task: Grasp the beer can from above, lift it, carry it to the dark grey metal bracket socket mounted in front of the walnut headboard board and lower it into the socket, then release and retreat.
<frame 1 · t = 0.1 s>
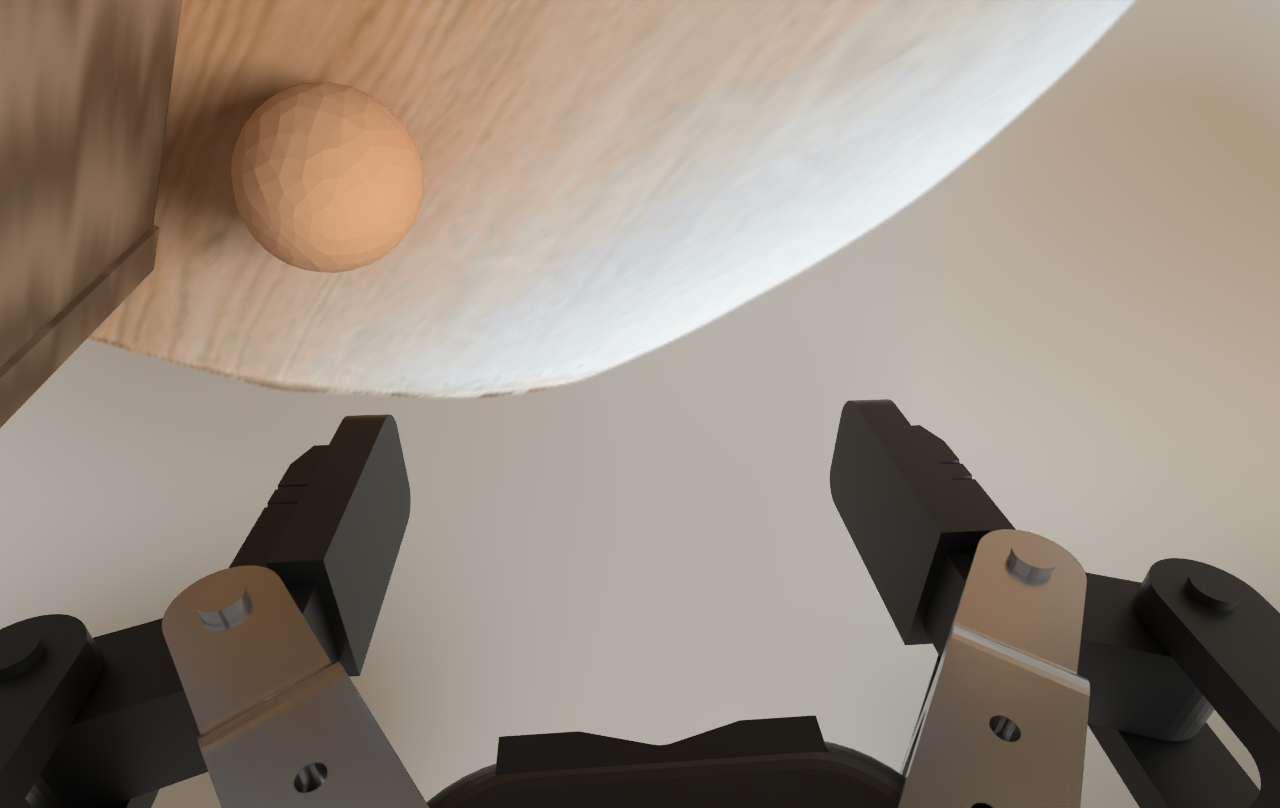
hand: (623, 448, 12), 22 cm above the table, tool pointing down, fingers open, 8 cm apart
egg: (360, 139, 30), on the table
headboard panel: (150, 71, 28), on the table
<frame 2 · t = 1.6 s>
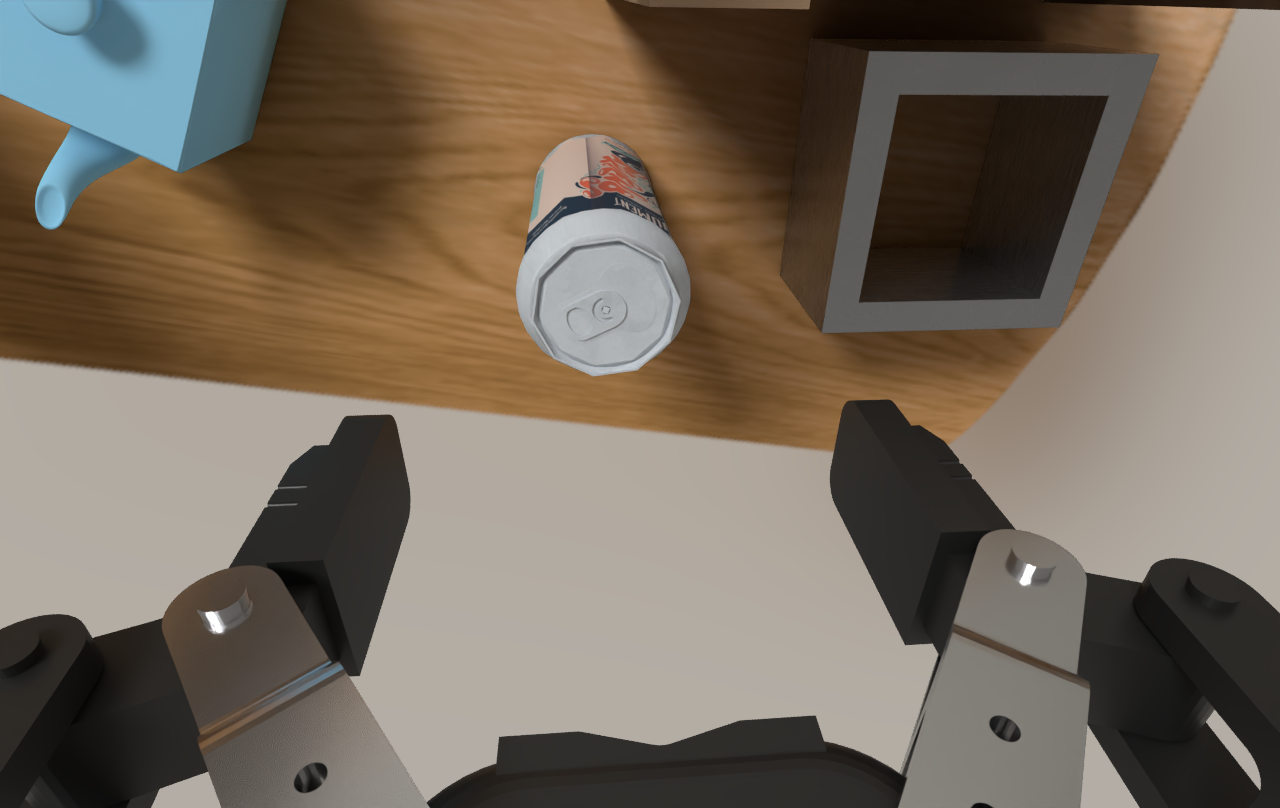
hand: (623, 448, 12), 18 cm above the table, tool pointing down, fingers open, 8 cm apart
post bracket: (903, 166, 29), on the table
beer can: (593, 191, 28), on the table
teapot: (191, 21, 24), on the table
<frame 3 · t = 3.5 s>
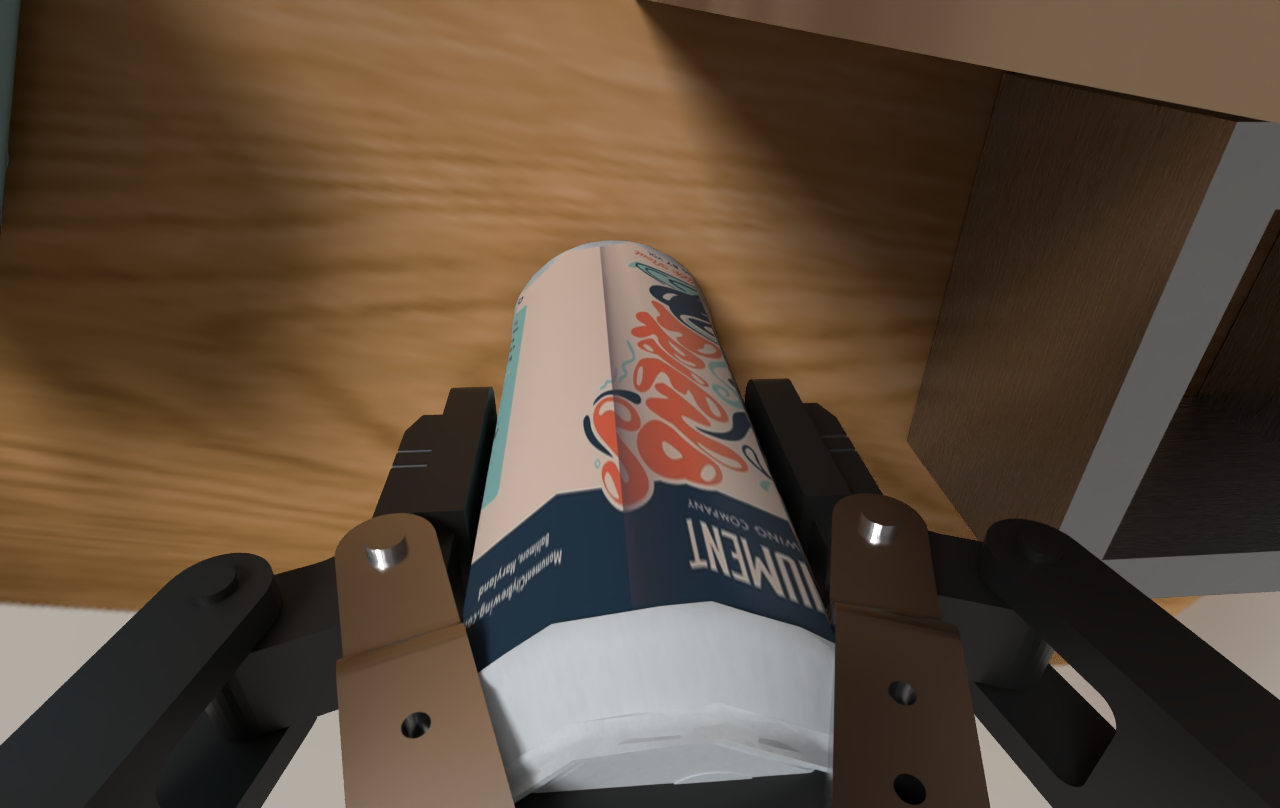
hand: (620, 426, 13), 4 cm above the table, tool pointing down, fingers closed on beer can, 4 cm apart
post bracket: (1127, 281, 17), on the table
beer can: (611, 325, 17), on the table, touching gripper
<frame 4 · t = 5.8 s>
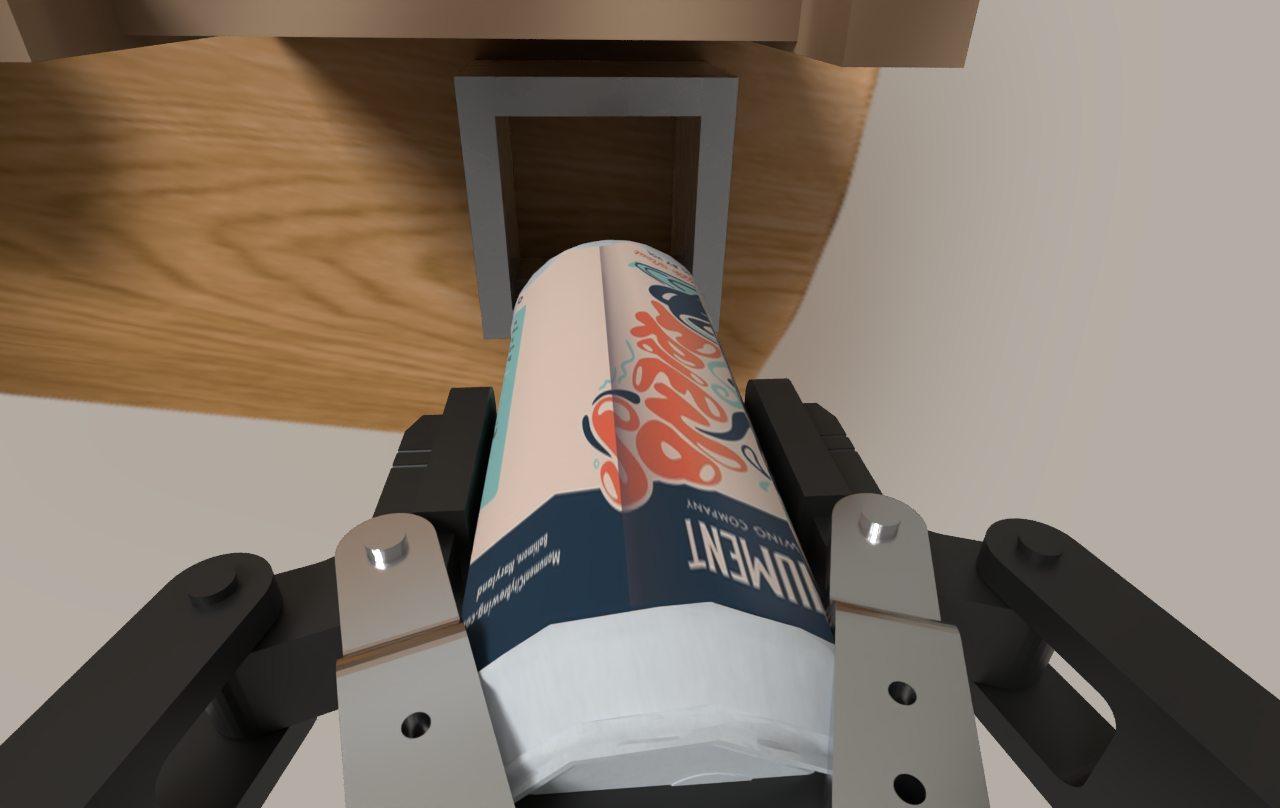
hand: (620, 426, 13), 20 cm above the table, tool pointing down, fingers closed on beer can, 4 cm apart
post bracket: (594, 179, 30), on the table
beer can: (611, 324, 17), point 15 cm above the table, touching gripper
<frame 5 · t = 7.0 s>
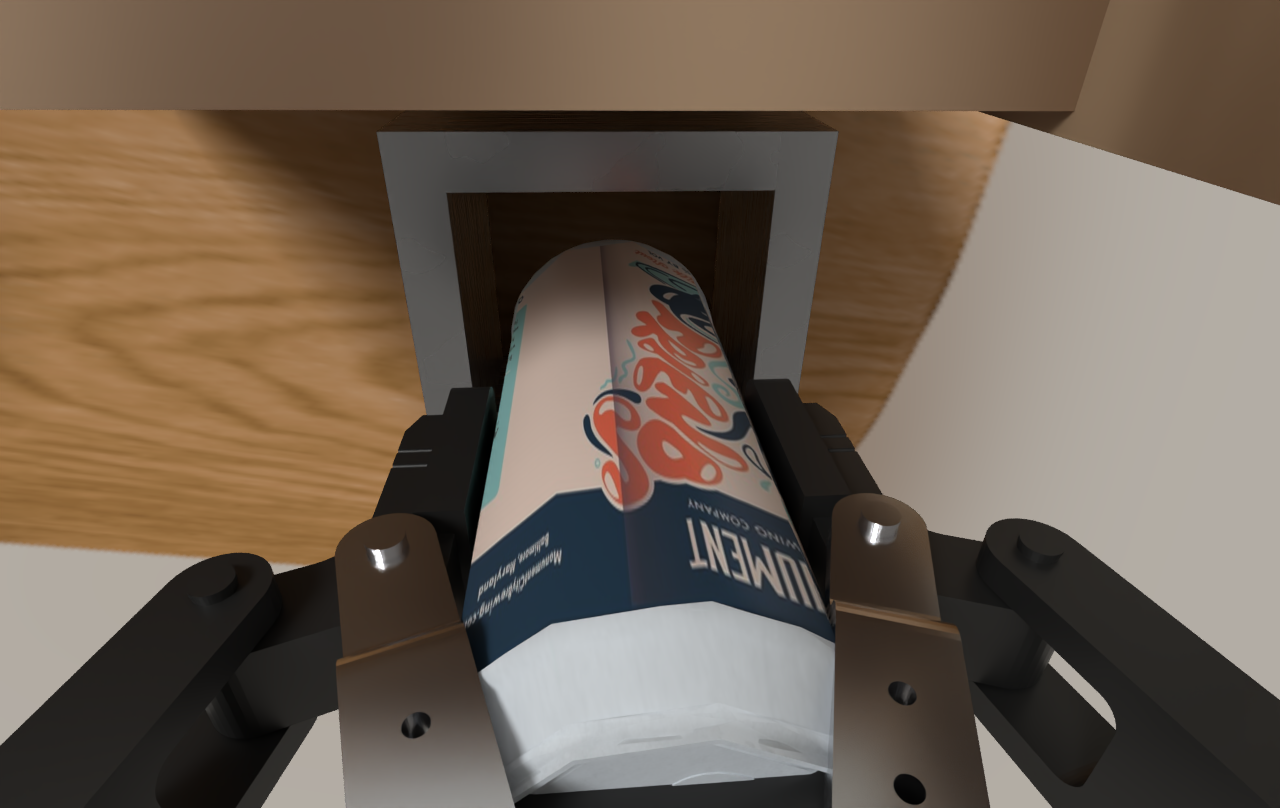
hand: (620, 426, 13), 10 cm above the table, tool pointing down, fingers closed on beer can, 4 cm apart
post bracket: (605, 255, 21), on the table
beer can: (611, 324, 17), point 5 cm above the table, touching gripper
when the fingers open (6 cm above the table, at t = 8.1 s): beer can drops 2 cm, resting in post bracket.
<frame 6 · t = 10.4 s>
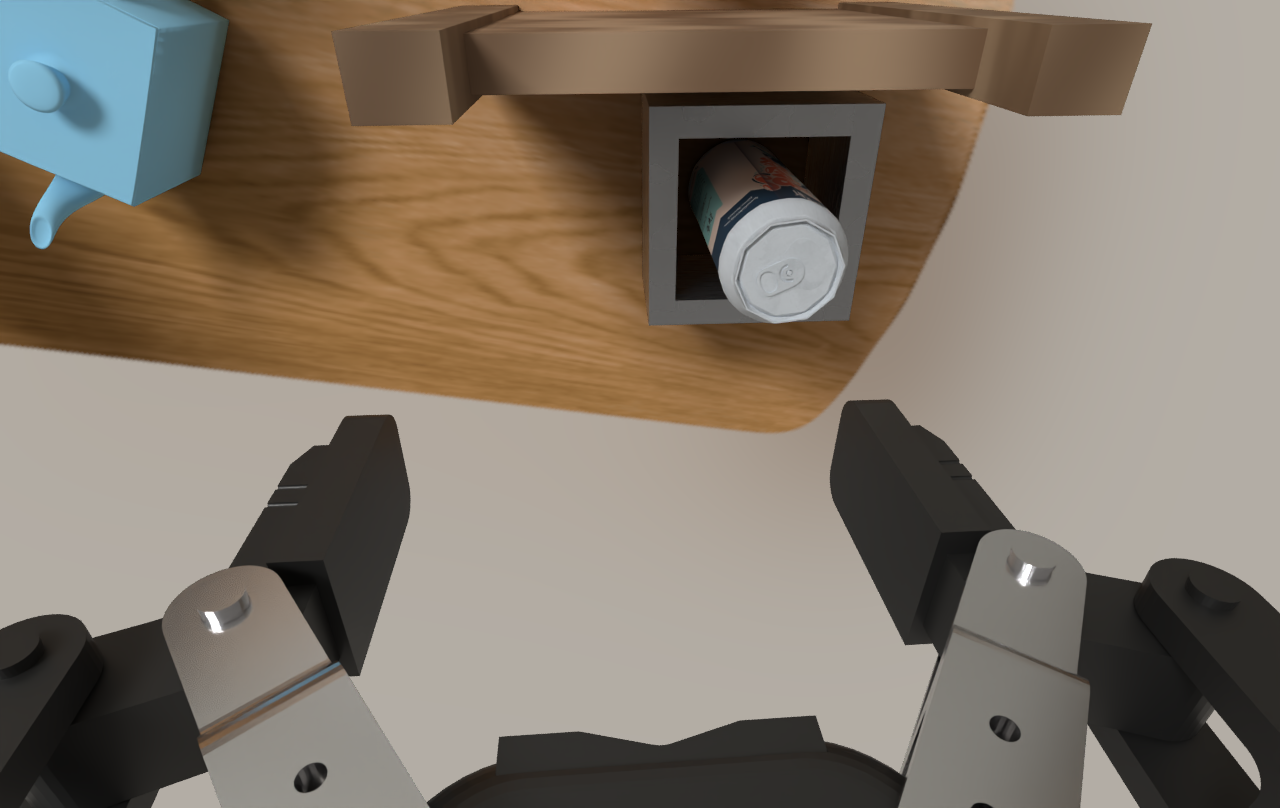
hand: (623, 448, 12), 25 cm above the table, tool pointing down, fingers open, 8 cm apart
headboard panel: (679, 29, 31), on the table
post bracket: (735, 187, 34), on the table
beer can: (733, 185, 35), resting in post bracket
teapot: (152, 84, 31), on the table
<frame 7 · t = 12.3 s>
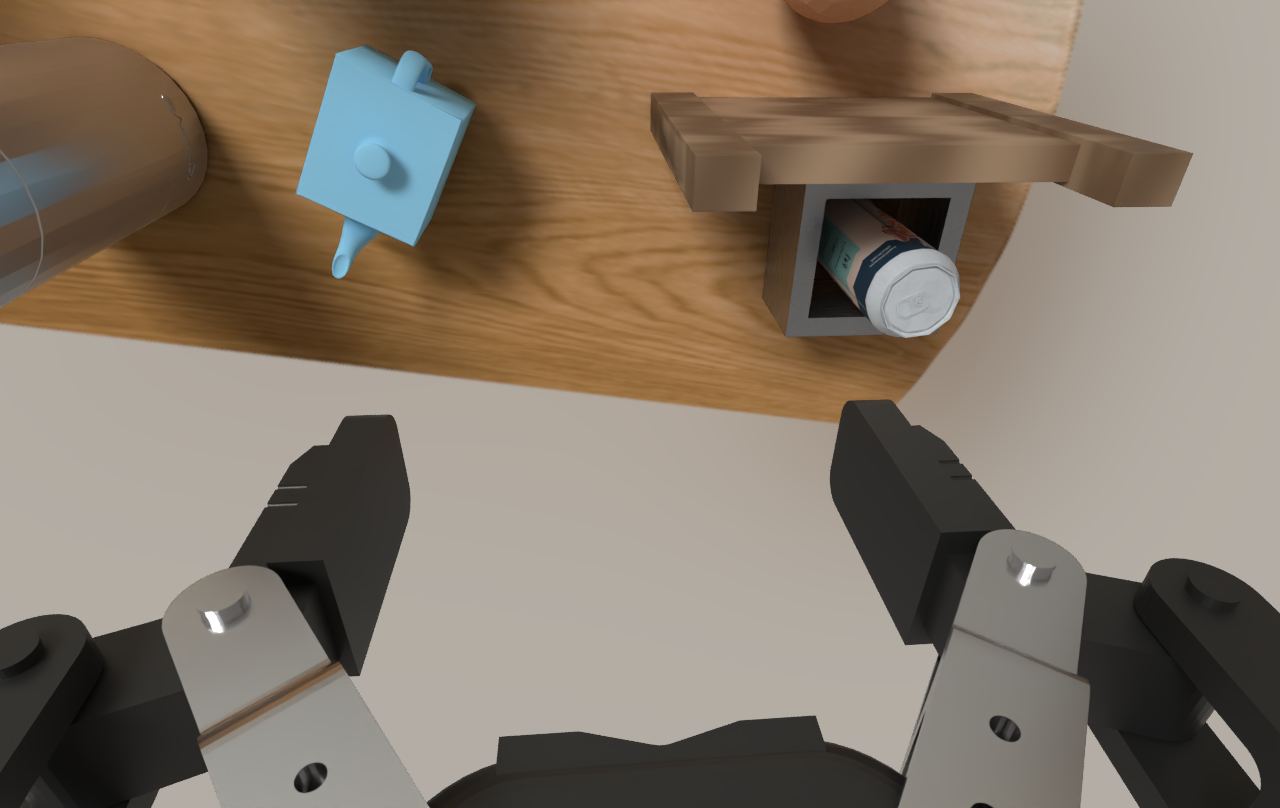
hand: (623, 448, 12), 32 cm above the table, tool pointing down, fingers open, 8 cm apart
headboard panel: (811, 111, 40), on the table
post bracket: (841, 228, 44), on the table
beer can: (839, 227, 44), resting in post bracket
teapot: (400, 147, 40), on the table
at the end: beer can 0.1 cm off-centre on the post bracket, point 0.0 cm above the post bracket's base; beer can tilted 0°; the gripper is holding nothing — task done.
